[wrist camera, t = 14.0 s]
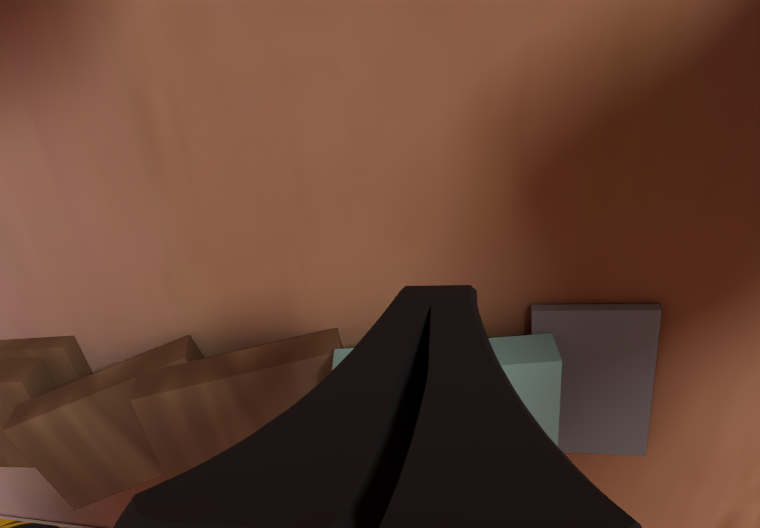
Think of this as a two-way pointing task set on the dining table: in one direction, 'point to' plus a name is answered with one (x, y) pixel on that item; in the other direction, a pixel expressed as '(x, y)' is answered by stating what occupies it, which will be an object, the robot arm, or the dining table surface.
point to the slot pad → (603, 373)
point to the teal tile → (525, 374)
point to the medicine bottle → (33, 523)
